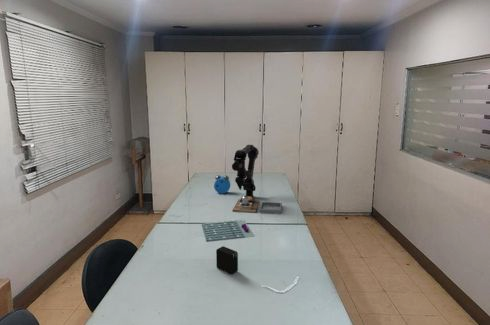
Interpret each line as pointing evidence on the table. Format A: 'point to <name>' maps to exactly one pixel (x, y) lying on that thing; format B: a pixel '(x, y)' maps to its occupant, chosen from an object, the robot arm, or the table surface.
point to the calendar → (226, 230)
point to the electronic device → (227, 260)
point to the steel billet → (245, 200)
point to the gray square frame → (270, 209)
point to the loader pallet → (251, 208)
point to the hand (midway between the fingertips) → (241, 187)
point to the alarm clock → (222, 184)
